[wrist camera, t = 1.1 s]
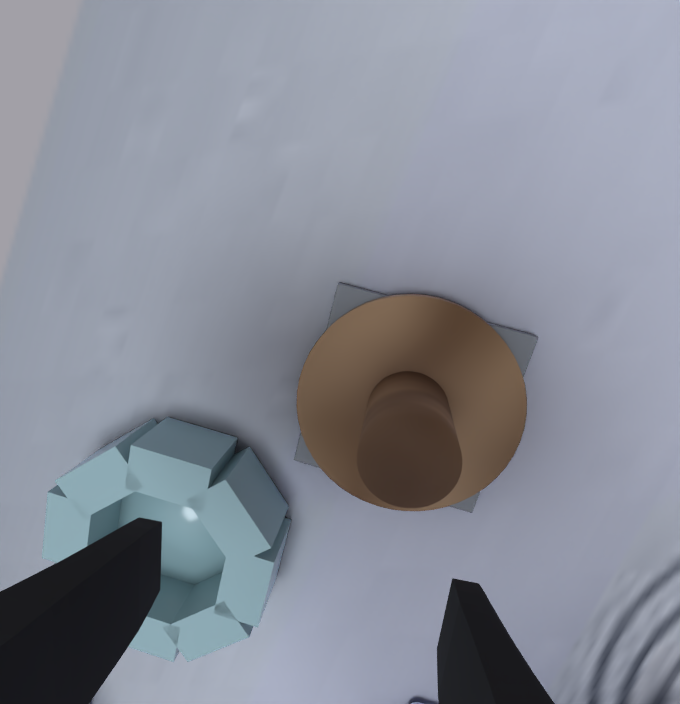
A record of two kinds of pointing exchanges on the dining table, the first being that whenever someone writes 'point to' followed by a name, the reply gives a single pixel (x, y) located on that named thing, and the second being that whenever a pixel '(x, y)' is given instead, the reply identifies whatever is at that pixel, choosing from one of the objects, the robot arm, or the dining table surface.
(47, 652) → the robot arm
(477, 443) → the lid
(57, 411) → the dining table surface
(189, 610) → the bowl
